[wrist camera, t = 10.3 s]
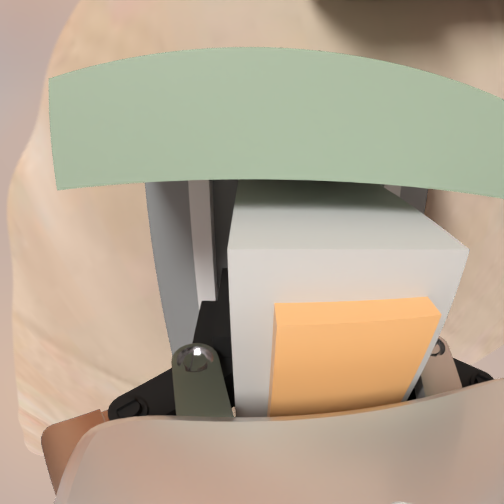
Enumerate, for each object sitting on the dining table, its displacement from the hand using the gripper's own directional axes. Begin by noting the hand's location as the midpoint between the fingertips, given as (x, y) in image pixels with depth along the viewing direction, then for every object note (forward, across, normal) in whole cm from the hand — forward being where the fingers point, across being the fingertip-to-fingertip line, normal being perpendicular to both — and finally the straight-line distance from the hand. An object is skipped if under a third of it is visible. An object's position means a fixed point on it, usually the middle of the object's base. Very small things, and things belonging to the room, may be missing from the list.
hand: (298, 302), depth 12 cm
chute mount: (+3, 0, -1) cm, 3 cm away
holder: (0, 0, 0) cm, 0 cm away
